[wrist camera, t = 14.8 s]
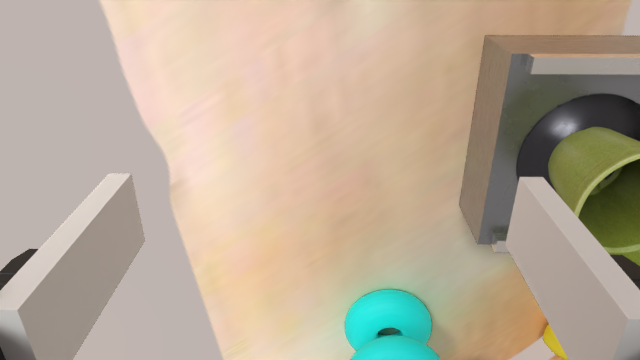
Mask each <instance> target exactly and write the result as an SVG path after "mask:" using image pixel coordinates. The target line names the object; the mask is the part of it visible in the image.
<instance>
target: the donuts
mask: <svg viewBox="0 0 640 360" xmlns="http://www.w3.org/2000/svg"><path fill="white" fill-rule="evenodd" d="M385 328H396V329H398V330H400V331H399V332H397V333H395V334H391V335H382V334H378V332H379V331H380V330H382V329H385ZM431 330H432V321H431V317H430V314H429V311H428V310H427V308H426V307H425V305H424V304H423V303H422V302H421V301H420V300H419V299H417V298H416V297H415V296H413V295H411V294H409V293H406V292H403V291H399V290H379V291H375V292H371V293H369V294H367V295H365V296H363V297H361V298H360V299H359V300H357V301H356V302H355V303H354V304H353V305H352V307H351V308H350V309H349V311H348V313H347V316H346V319H345V333H346V337H347V339H348V341H349V343H350V344H351V346H352V347H353V348H354V349H355V350H356V352H355V353H354V355H353V356H352V358H351V360H440V358H439V357H438V355H437V354H436V353H435V352H434V351H433V349H432V348H430V347H429V346H428V345H426V343H427V342H428V340H429V337H430V334H431Z"/></svg>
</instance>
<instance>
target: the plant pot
mask: <svg viewBox="0 0 640 360" xmlns="http://www.w3.org/2000/svg"><path fill="white" fill-rule="evenodd" d="M614 170H615V171H614ZM548 171H549V177H550V180H551V182H552V184H553V186H554V188H555V190H556V192H557V194H558V195H559V196H560V198H561V199H562V200H563V201H564V202H565V203H566V205H567V206H568V207H569V208H570V209H571V210H572V212H573V213H574V214H575V215H576V216H577V217H578V219H579V220H580V221H581V222H582V223H583V224H584V226H585V227H586V228H587V229H588V230H589V231H590V233H591V234H592V235H593V236H594V237H595V238H596V240H597V241H598V242H599V243H600V244H601V245H602V247H603V248H604V249H605V250H606V251H607V252H608V254H609V255H623V256H625V257H627V258H628V259H630V260H631V261H633V262H634V263H636V264H637V265H639V266H640V141H637V140H635V139H632V138H630V137H627V136H625V135H623V134H621V133H618V132H616V131H613V130H611V129H608V128H604V127H591V128H588V129H585V130H581V131H578V132H575V133H572V134H570V135H568V136H567V137H565V138H564V139H563V140H562V141H561V142H560V143H559V144H558V145H557V146H556V147H555V149H554V150H553V152H552V154H551V156H550V159H549V162H548ZM613 171H614V172H613ZM612 172H613V174H612V175H611V176H610V177H609V178H607V179H606V180H605V179H604V178H605V177H606V176H607V175H609V174H610V173H612Z"/></svg>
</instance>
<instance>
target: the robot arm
mask: <svg viewBox="0 0 640 360" xmlns="http://www.w3.org/2000/svg"><path fill="white" fill-rule="evenodd" d="M144 242H145V238H144V233H143V228H142V224H141V218H140V214H139V209H138V204H137V199H136V194H135V189H134V184H133V180H132V175H131V174H120V173H118V174H117V173H109V174H108V175H107V176H106V177H105V178H104V179H103V181H101V183H100V184H99V185H98V186H97V187H96V188H95V189H94V190H93V191H92V192H91V193H90V194H89V196H88V197H87V198H86V199H85V200H84V201H83V202H82V203H81V204H80V205H79V206H78V207H77V209H76V210H75V211H74V212H73V213H72V214H71V215H70V216H69V217H68V218H67V219H66V220H65V222H63V224H62V225H61V226H60V227H59V228H58V229H57V230H56V231H55V232H54V233H53V234H52V236H50V238H49V239H48V240H47V241H46V242H45V243H44V244H43V245H42V246H41V247H40V248H39V249H29V250H27V251H25V252H24V253H22V254H20V255H19V256H17V257H16V258H14V259H12V260H11V261H10V262H9V263H8V264H7V265H6V266H5V267H4V268H3V269H2V270H1V271H0V360H73V358H74V357H75V355H76V353H77V352H78V350H79V348H80V347H81V345H82V344H83V342H84V340H85V339H86V337H87V335H88V333H89V332H90V330H91V329H92V327H93V325H94V324H95V322H96V321H97V319H98V317H99V316H100V314H101V312H102V310H103V309H104V307H105V306H106V304H107V302H108V301H109V299H110V297H111V296H112V294H113V292H114V291H115V289H116V288H117V286H118V284H119V283H120V281H121V279H122V278H123V276H124V274H125V273H126V271H127V270H128V268H129V266H130V264H131V263H132V261H133V260H134V258H135V256H136V255H137V253H138V251H139V250H140V248H141V247H142V245H143V243H144ZM505 245H506V247H507V249H508V251H509V253H510V254H511V256H512V258H513V260H514V262H515V263H516V265H517V267H518V269H519V271H520V272H521V274H522V276H523V278H524V280H525V282H526V283H527V285H528V287H529V289H530V291H531V292H532V294H533V296H534V298H535V300H536V301H537V303H538V305H539V307H540V309H541V311H542V312H543V314H544V316H545V318H546V320H547V321H548V323H549V325H550V327H551V329H552V330H553V332H554V334H555V336H556V338H557V340H558V341H559V343H560V345H561V347H562V349H563V350H564V352H565V354H566V356H567V358H568V359H569V360H640V266H639V265H637V264H636V263H634V262H633V261H631V260H630V259H628V258H627V257H625V256H623V255H609V254H608V252H607V251H606V250H605V249H604V248H603V247H602V245H601V244H600V243H599V242H598V241H597V240H596V238H595V237H594V236H593V235H592V234H591V233H590V231H589V230H588V229H587V228H586V227H585V226H584V224H583V223H582V222H581V221H580V220H579V219H578V217H577V216H576V215H575V214H574V213H573V212H572V210H571V209H570V208H569V207H568V206H567V205H566V203H565V202H564V201H563V200H562V199H561V198H560V196H559V195H558V194H557V193H556V192H555V191H554V189H553V188H552V187H551V186H550V185H549V184H548V182H547V181H546V180H545V179H544V178H543V177H520V178H519V182H518V187H517V192H516V197H515V201H514V206H513V211H512V215H511V220H510V225H509V229H508V234H507V239H506V243H505Z"/></svg>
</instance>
